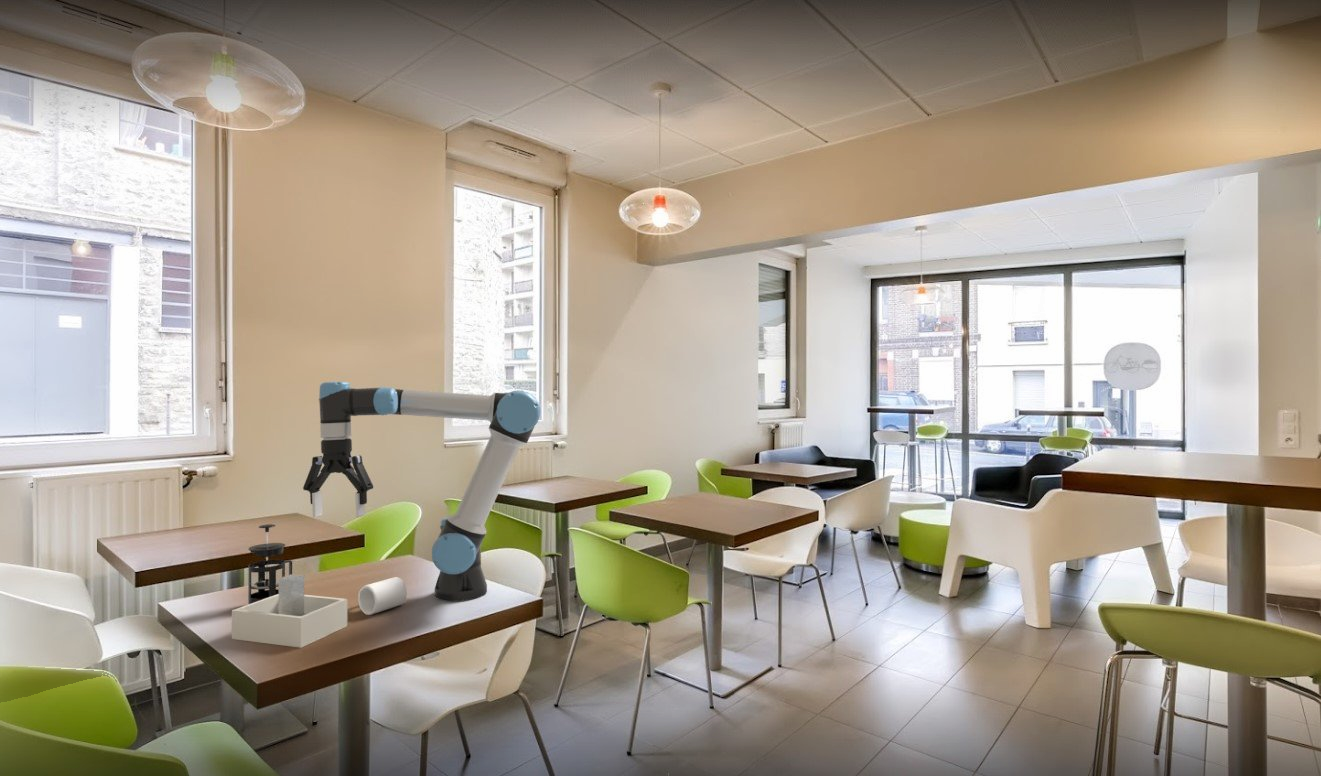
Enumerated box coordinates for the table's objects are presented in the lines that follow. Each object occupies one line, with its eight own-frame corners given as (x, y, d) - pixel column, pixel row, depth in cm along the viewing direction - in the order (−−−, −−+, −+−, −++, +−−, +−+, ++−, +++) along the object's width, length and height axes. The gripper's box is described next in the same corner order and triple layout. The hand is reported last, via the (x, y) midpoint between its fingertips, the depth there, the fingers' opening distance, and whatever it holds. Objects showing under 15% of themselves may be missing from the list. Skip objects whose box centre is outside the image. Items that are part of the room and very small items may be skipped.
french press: (251, 614, 179) (251, 530, 179) (239, 606, 185) (240, 525, 185) (297, 603, 188) (297, 523, 188) (285, 597, 194) (285, 519, 194)
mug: (407, 607, 185) (407, 578, 185) (375, 617, 176) (376, 587, 176) (379, 600, 191) (379, 573, 191) (348, 610, 182) (348, 581, 182)
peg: (291, 635, 163) (291, 579, 163) (278, 634, 164) (278, 578, 164) (304, 630, 167) (304, 575, 167) (291, 628, 168) (291, 574, 168)
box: (347, 626, 169) (347, 599, 170) (300, 647, 155) (301, 618, 155) (282, 618, 175) (282, 592, 175) (231, 638, 161) (231, 610, 161)
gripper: (385, 436, 179) (387, 513, 179) (307, 438, 185) (310, 513, 184) (367, 438, 172) (369, 519, 172) (286, 440, 177) (289, 518, 177)
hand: (339, 516), depth 178 cm, fingers open, 13 cm apart
